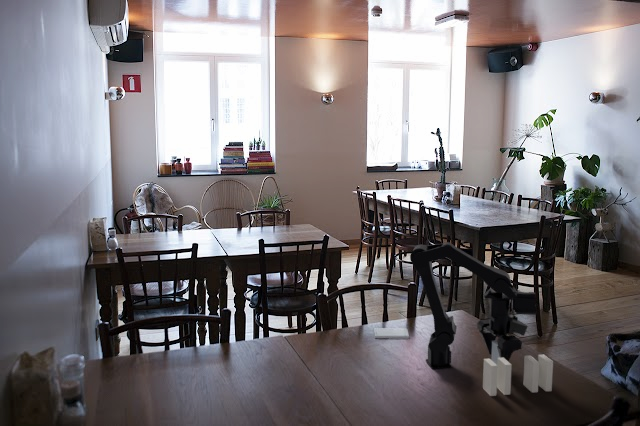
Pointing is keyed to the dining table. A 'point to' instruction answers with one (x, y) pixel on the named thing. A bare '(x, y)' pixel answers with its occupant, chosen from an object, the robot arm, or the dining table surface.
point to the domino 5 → (545, 372)
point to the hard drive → (391, 333)
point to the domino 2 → (495, 352)
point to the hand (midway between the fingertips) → (497, 360)
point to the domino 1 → (490, 377)
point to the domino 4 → (531, 373)
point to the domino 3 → (504, 375)
